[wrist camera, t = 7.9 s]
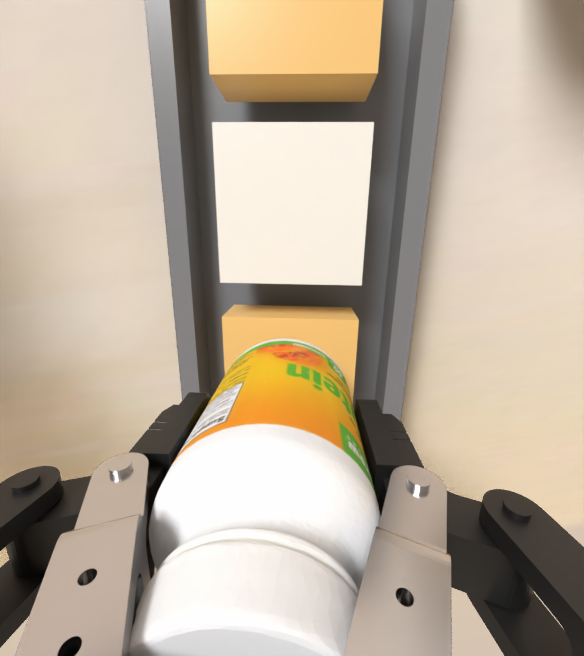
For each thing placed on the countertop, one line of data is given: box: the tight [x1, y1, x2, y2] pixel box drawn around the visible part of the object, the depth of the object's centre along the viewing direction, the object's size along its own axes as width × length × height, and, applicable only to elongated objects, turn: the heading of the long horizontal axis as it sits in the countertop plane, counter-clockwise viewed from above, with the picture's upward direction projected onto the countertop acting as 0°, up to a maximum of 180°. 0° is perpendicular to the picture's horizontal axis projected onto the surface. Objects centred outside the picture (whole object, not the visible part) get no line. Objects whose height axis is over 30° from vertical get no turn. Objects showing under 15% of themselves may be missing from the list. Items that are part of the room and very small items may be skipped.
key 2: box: [212, 122, 374, 286], centre depth 14 cm, size 6×6×2 cm
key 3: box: [222, 305, 359, 405], centre depth 16 cm, size 6×6×2 cm
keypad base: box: [144, 0, 454, 421], centre depth 17 cm, size 32×12×4 cm, turn 179°
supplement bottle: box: [129, 338, 381, 656], centre depth 9 cm, size 5×5×10 cm
